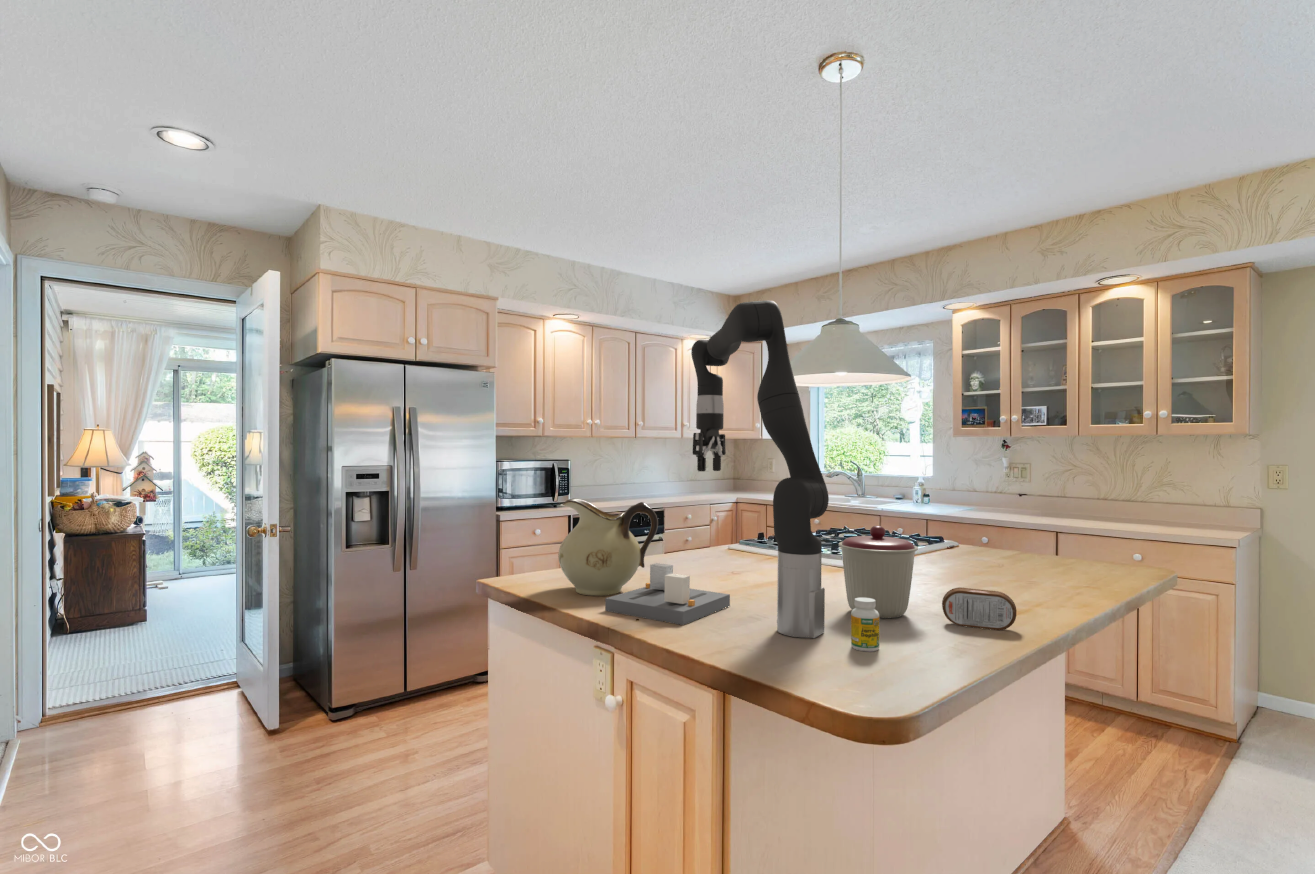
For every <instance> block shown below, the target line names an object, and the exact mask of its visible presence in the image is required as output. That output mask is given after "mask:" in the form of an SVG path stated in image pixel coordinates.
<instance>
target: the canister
mask: <svg viewBox="0 0 1315 874" xmlns="http://www.w3.org/2000/svg"><path fill="white" fill-rule="evenodd" d="M869 532H870V533H869V534H870V535H860V536H858V535H857V536H850V537H846V538H845V539H844V540H843V541H840V542H839V543H838V546H839V547H840V548H841V556H842V557H841V558H842V565H843V566H842V567H843V576H844V583H845V593H846V600H847V604H848V606H849V609H850V610H851V611H852V610H853V609H855V608H856V607H855V605H854V601H855V598H871V599H874V600H875V601H876V606H875V608H874V609H875V610H876V611H878V613H879V619H895V618H900V617H901V616H903V615H905V614H906V611H907V609H908V607H909V601H910V597H911V596H910V594H911V588H912V580H913V571H914V564H915V563H914V562H915V553H916V552H917V551H918V549H919V547H918V546H916V545H914V544H913V543H912V542H911V541H909V540H907V539H903V538H897V537H891V536H885V535H886V529H885V528H884V526H881V525H874V526H872V527H871V528H870V529H869Z"/></svg>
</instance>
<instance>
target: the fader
mask: <svg viewBox="0 0 1315 874" xmlns="http://www.w3.org/2000/svg"><path fill="white" fill-rule="evenodd" d="M690 581H691V580H690V575H686V574H677V573H673V574H668V575H665V600H664V601H667V602H673V603H679V604H684V603H687V602H688V600H689V594H690V589H691V587H690V584H691V583H690Z"/></svg>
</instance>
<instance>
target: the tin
mask: <svg viewBox="0 0 1315 874" xmlns="http://www.w3.org/2000/svg"><path fill="white" fill-rule="evenodd" d="M941 608H942V611H943V614H944V616H945V617H946V619H947V620H948V621H949V622H950V623H952V624H954V625H956V626H959V627H964V626H967V627H968V628H973V627H974V628H973V629H975V628H976V629H981V628H983V629H984V630H990V629H991V630H992V631H1003V630H1007V629H1008V628H1010V627H1011V626H1013V624H1014V623H1015V621H1016V620H1017V619H1016V618H1017V606H1016V603H1015V602H1014V600H1013V599H1012V598H1011V597H1010V596H1009V595H1007V593H1004V592H1002V591H998V590H988V589H979V588H970V587H969V588H968V587H960V586H959V587H954V588H952V589H951V588H950V589H949V590H948V591H946V592H945V594H944V595H943V598H942V601H941ZM967 627H966V628H967ZM983 629H982V630H983Z"/></svg>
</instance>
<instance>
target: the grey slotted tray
mask: <svg viewBox="0 0 1315 874" xmlns="http://www.w3.org/2000/svg"><path fill="white" fill-rule="evenodd" d="M664 600H665V590H659V589H652V588H650V582H646V583H645V586H643V587H639V588H636V589H633V590H630V591H627V592H623V593H618V594H614V595H612V596H609V597H608V596H607V597H605V603H604V604H605V605H604V606H605V610H604V611H605V612H608V613H615V614H616V613H617V614H620V615H625V616H630V617H631V616H632V617H637V618H641V617H642V618H643V619H646V620H647V619H648V620H652V619H653V620H654V621H658V622H663V621H666V622H665V623H668V622H670V623H669V624H674V623H675V624H674V625H679V624H680V626H684V624H685V625H688V624H689V623H692V622H694V621H697V620H699V618H700V619H702V618H705V617H707V616H710V615H712V614H714V613H713V612H715V611H717V612H719V610H720V611H722V610H724V609H723V608H725V607H727V608H729V607H728V606H730V607H731V594H729V593H722V592H716V591H710V590H704V589H696V588H690V594H689V600H688V602H687V603H684V604H679V603H673V602H667V601H664ZM721 609H722V610H721ZM725 609H726V608H725ZM711 613H712V614H711ZM715 613H716V612H715ZM709 614H710V615H709ZM704 616H705V617H704ZM642 618H641V619H642ZM687 623H688V624H687Z"/></svg>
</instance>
